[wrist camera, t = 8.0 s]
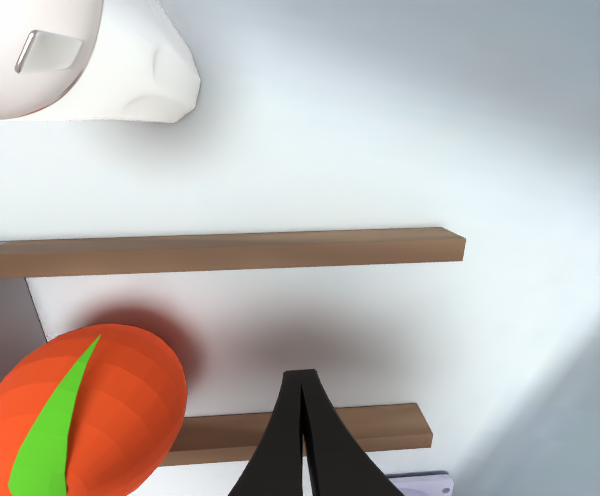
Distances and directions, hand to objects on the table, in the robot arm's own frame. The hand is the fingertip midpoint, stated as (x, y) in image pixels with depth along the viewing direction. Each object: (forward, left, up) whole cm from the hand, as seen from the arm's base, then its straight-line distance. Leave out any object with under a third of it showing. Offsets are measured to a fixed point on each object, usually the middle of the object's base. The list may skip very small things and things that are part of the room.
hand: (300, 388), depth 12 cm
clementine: (0, +8, -4) cm, 9 cm away
